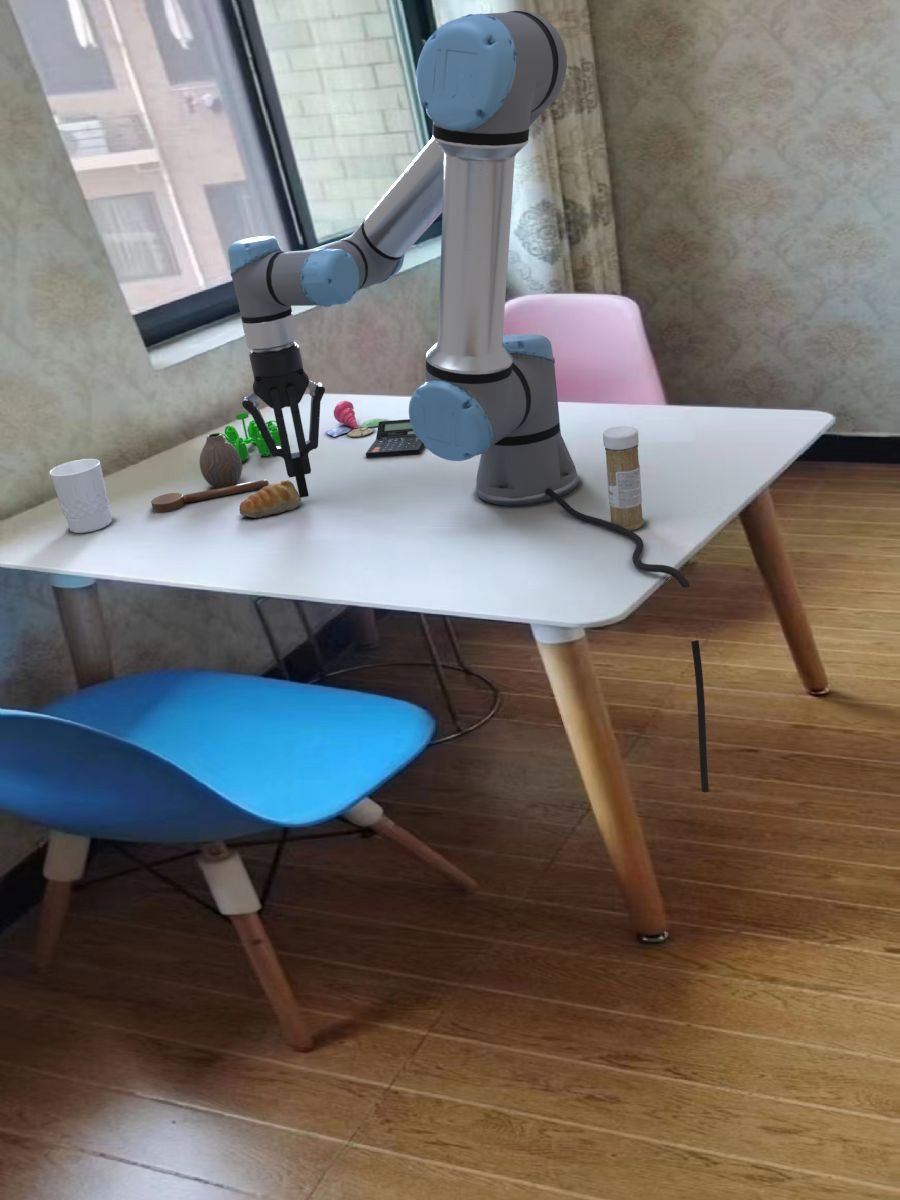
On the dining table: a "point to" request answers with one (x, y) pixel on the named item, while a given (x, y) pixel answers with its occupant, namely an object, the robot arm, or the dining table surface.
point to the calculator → (395, 440)
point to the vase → (220, 462)
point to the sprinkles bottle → (623, 476)
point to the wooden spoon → (202, 495)
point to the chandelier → (250, 437)
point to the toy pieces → (350, 421)
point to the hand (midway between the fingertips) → (303, 494)
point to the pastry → (271, 500)
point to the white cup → (82, 494)
